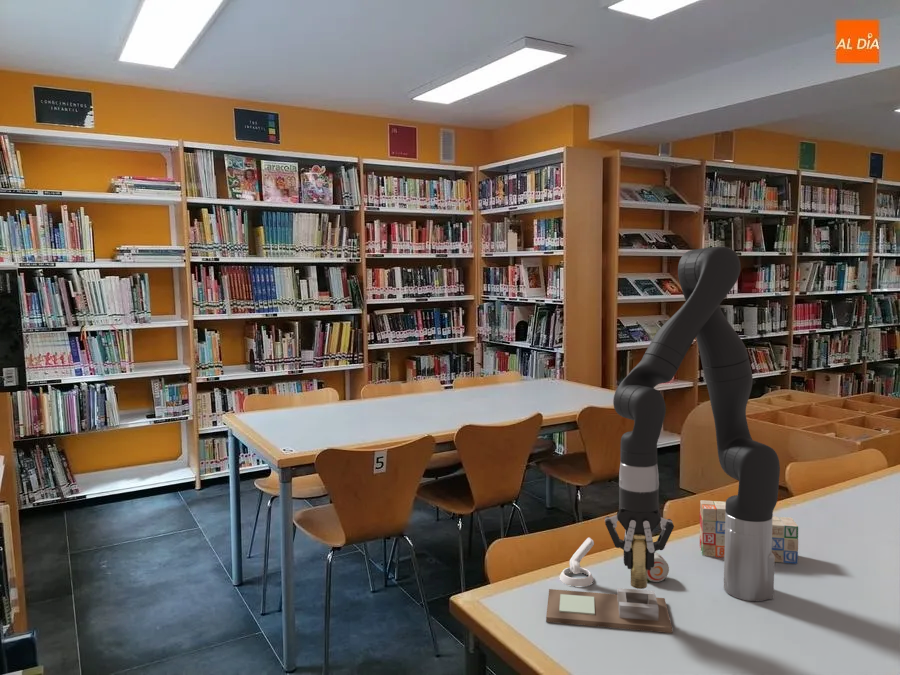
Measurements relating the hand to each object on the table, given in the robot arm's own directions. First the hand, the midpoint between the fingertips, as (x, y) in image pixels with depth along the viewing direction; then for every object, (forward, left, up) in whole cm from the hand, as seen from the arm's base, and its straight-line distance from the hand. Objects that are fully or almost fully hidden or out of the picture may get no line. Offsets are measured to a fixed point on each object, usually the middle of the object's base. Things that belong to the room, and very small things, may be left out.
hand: (638, 567), depth 131 cm
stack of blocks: (-28, -34, -10) cm, 46 cm away
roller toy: (-5, -17, -10) cm, 20 cm away
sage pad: (+12, 0, -9) cm, 15 cm away
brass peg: (0, 0, -4) cm, 4 cm away
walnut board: (+6, 0, -10) cm, 12 cm away
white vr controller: (+12, -14, -10) cm, 21 cm away
